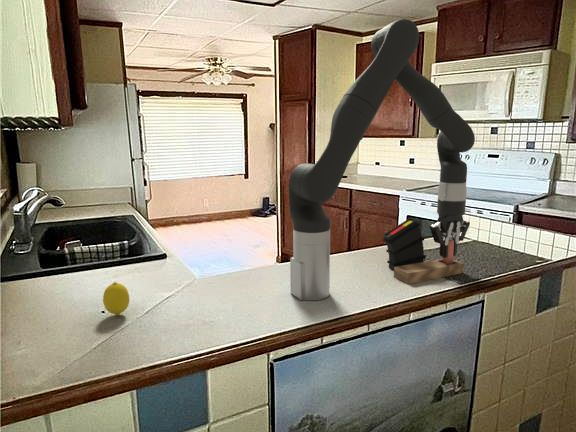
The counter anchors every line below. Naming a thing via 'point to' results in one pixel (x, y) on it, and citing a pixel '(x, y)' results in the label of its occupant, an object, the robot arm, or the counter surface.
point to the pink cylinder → (449, 252)
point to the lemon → (116, 298)
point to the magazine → (405, 244)
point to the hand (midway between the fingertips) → (447, 255)
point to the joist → (427, 270)
